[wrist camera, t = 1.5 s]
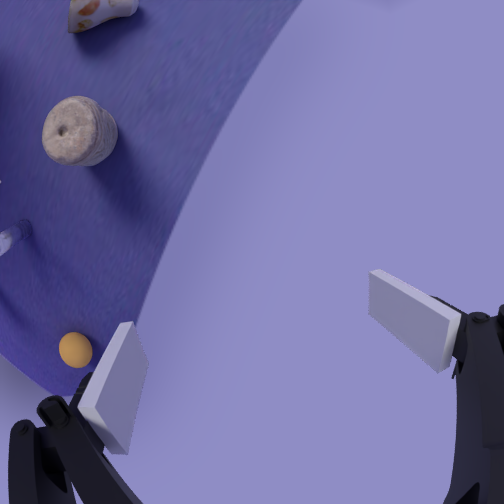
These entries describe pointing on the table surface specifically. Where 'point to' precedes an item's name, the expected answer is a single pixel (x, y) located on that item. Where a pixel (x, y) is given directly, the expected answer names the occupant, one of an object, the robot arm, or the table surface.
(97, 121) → the carving
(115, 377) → the robot arm
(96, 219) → the table surface
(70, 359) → the ball
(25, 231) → the post
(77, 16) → the mug
